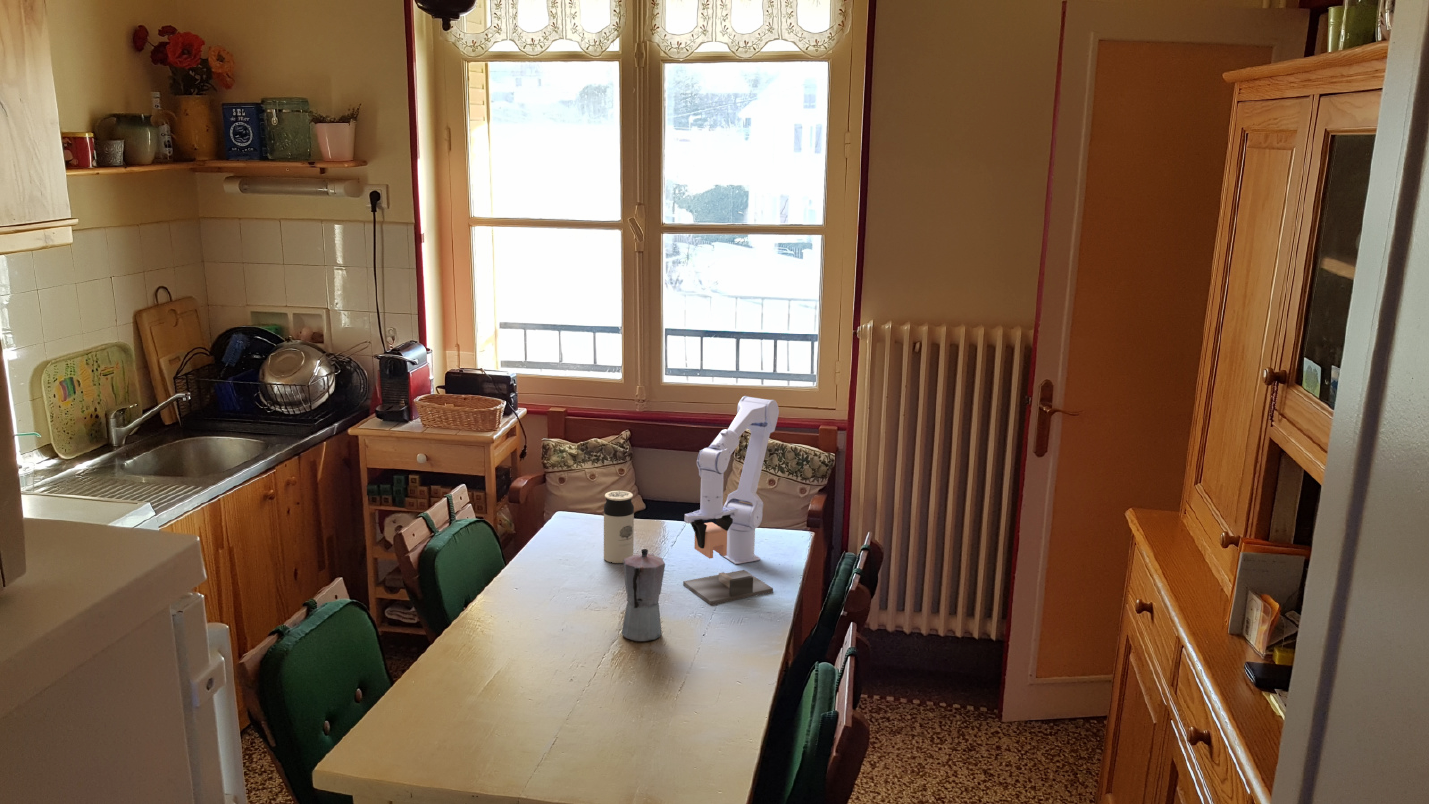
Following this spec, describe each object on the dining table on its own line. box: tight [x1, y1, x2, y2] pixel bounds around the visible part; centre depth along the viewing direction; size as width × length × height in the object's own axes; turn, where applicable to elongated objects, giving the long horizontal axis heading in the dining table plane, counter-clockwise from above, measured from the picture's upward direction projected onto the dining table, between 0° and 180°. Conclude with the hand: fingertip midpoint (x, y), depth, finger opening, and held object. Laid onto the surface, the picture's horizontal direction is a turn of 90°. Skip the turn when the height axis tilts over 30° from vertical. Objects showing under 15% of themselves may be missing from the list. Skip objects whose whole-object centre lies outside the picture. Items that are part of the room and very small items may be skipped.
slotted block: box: [693, 521, 727, 559], centre depth 268 cm, size 8×5×6 cm, turn 30°
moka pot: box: [621, 548, 666, 642], centre depth 233 cm, size 10×15×20 cm, turn 174°
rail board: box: [682, 569, 774, 606], centre depth 262 cm, size 14×18×5 cm
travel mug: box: [603, 490, 635, 564], centre depth 279 cm, size 8×8×18 cm
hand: (710, 545), depth 268 cm, fingers closed on slotted block, 5 cm apart
